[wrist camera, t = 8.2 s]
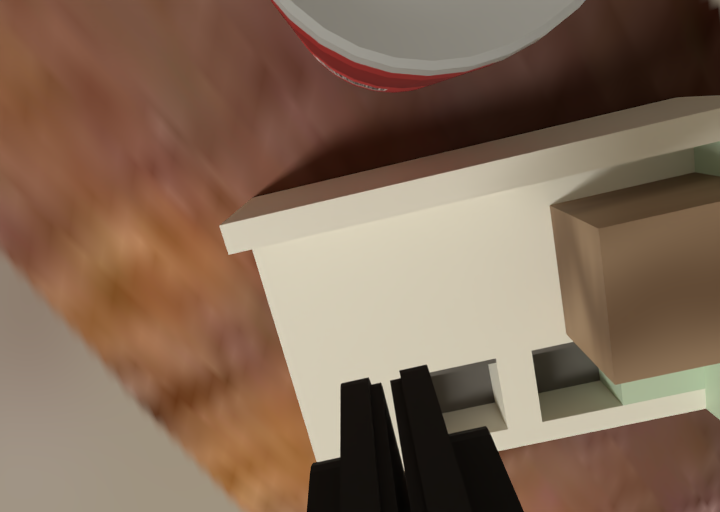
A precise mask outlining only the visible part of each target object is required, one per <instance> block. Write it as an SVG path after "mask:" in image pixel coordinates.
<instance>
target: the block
mask: <svg viewBox="0 0 720 512" xmlns="http://www.w3.org/2000/svg"><path fill="white" fill-rule="evenodd" d="M550 213H551V220H552V228H553V236H554V244H555V251H556V259H557V267H558V274H559V282H560V290H561V297H562V305H563V313H564V320H565V328H566V334H567V335H568V336H569V338H570V339H571V340H572V341H573V342H574V343H575V344H576V345H577V346H578V347H579V348H580V349H581V350H582V351H583V352H584V353H585V354H586V355H587V356H588V357H589V358H590V359H591V360H592V362H593V363H594V364H595V365H596V366H597V367H598V368H599V369H600V370H601V371H602V372H603V373H604V374H605V375H606V376H607V377H608V378H609V379H610V380H611V381H612V382H613V383H614V384H615V385H617V384H622V383H627V382H632V381H637V380H641V379H646V378H651V377H656V376H661V375H665V374H670V373H675V372H680V371H685V370H689V369H694V368H699V367H704V366H708V365H713V364H718V363H720V176H714V175H709V174H703V173H697V172H693V173H689V174H684V175H680V176H676V177H671V178H667V179H663V180H658V181H654V182H649V183H645V184H641V185H636V186H632V187H628V188H623V189H619V190H614V191H610V192H606V193H601V194H597V195H593V196H588V197H584V198H579V199H575V200H571V201H566V202H562V203H558V204H553V205H550Z"/></svg>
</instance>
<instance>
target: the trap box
mask: <svg viewBox="0 0 720 512" xmlns="http://www.w3.org/2000/svg"><path fill="white" fill-rule="evenodd" d="M693 172H697V173H703V174H709V175H714V176H720V95H716V96H695V97H676V98H672V99H668V100H663V101H659V102H655V103H651V104H646V105H642V106H638V107H634V108H629V109H625V110H621V111H617V112H613V113H608V114H604V115H600V116H596V117H591V118H587V119H583V120H579V121H575V122H570V123H566V124H562V125H558V126H553V127H549V128H545V129H541V130H536V131H532V132H528V133H524V134H520V135H515V136H511V137H507V138H503V139H498V140H494V141H490V142H486V143H481V144H477V145H473V146H469V147H465V148H460V149H456V150H452V151H448V152H443V153H439V154H435V155H431V156H427V157H422V158H418V159H414V160H410V161H405V162H401V163H397V164H393V165H388V166H384V167H380V168H376V169H372V170H367V171H363V172H359V173H355V174H350V175H346V176H342V177H338V178H334V179H329V180H325V181H321V182H317V183H312V184H308V185H304V186H300V187H295V188H291V189H287V190H283V191H279V192H274V193H270V194H266V195H262V196H257V197H253V198H252V199H250V200H249V201H248V202H247V203H246V204H244V205H243V206H242V207H241V208H240V209H238V210H237V211H236V212H235V213H234V214H233V215H231V216H230V217H229V218H228V219H227V220H225V221H224V222H223V223H222V224H221V225H219V226H220V229H221V232H222V235H223V238H224V242H225V245H226V248H227V251H228V254H234V253H238V252H242V251H247V250H251V249H252V250H253V254H254V257H255V260H256V263H257V267H258V270H259V273H260V277H261V280H262V283H263V286H264V290H265V293H266V296H267V300H268V303H269V306H270V309H271V313H272V316H273V319H274V323H275V326H276V329H277V332H278V336H279V339H280V342H281V346H282V349H283V352H284V356H285V359H286V362H287V365H288V369H289V372H290V375H291V379H292V382H293V385H294V388H295V392H296V395H297V398H298V402H299V405H300V408H301V411H302V415H303V418H304V421H305V425H306V428H307V431H308V435H309V438H310V441H311V444H312V448H313V451H314V454H315V458H316V461H317V462H321V461H325V460H330V459H335V458H339V457H340V387H341V383H345V382H350V381H354V380H359V379H363V378H368V377H369V379H370V382H371V385H372V384H376V383H382V386H383V390H384V394H385V398H386V402H387V406H388V410H389V413H390V417H391V421H392V425H393V429H394V433H395V437H396V441H397V445H398V449H399V453H400V457H401V461H402V465H403V468H404V464H403V458H402V451H401V445H400V439H399V433H398V427H397V421H396V415H395V409H394V403H393V396H392V390H391V384H390V380H394V379H399V378H401V377H400V372H399V370H404V369H408V368H413V367H417V366H422V365H426V364H427V366H428V369H429V372H430V376H431V379H432V382H433V385H434V389H435V392H436V395H437V398H438V402H439V405H440V408H441V411H442V415H443V418H444V421H445V425H446V428H447V431H448V434H450V433H455V432H460V431H464V430H469V429H474V428H478V427H483V426H486V427H487V428H488V430H489V432H490V434H491V436H492V439H493V441H494V443H495V446H496V448H497V450H498V451H501V450H506V449H511V448H515V447H520V446H525V445H530V444H535V443H540V442H545V441H550V440H555V439H560V438H564V437H569V436H574V435H579V434H584V433H589V432H594V431H599V430H604V429H608V428H613V427H618V426H623V425H628V424H633V423H638V422H643V421H648V420H653V419H657V418H662V417H667V416H672V415H677V414H682V413H687V412H692V411H697V410H701V409H707V410H709V411H710V412H711V413H712V414H713V415H714V416H716V417H717V418H718V419H719V420H720V363H718V364H713V365H708V366H704V367H699V368H694V369H689V370H685V371H680V372H675V373H670V374H665V375H661V376H656V377H651V378H646V379H641V380H637V381H632V382H627V383H622V384H617V385H615V384H614V383H613V382H612V381H611V380H610V379H609V378H608V377H607V376H606V375H605V374H604V373H603V372H602V371H601V370H600V369H599V368H598V367H597V366H596V365H595V364H594V363H593V362H592V360H591V359H590V358H589V357H588V356H587V355H586V354H585V353H584V352H583V351H582V350H581V349H580V348H579V347H578V346H577V345H576V344H575V343H574V342H573V341H572V340H571V339H570V338H569V336H568V335H567V334H566V328H565V320H564V313H563V305H562V297H561V290H560V282H559V274H558V267H557V259H556V251H555V244H554V236H553V228H552V220H551V213H550V205H553V204H558V203H562V202H566V201H571V200H575V199H579V198H584V197H588V196H593V195H597V194H601V193H606V192H610V191H614V190H619V189H623V188H628V187H632V186H636V185H641V184H645V183H649V182H654V181H658V180H663V179H667V178H671V177H676V176H680V175H684V174H689V173H693Z"/></svg>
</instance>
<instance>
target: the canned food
mask: <svg viewBox="0 0 720 512" xmlns="http://www.w3.org/2000/svg"><path fill="white" fill-rule="evenodd" d="M584 1H585V0H271V2H272V3H273V4H274V5H275V7H276V8H277V9H278V11H279V12H280V13H281V15H282V16H283V17H284V18H285V20H286V21H287V22H288V24H289V25H290V26H291V28H292V29H293V30H294V32H295V33H296V34H297V35H298V37H299V38H300V39H301V41H302V42H303V43H304V45H305V46H306V47H307V48H308V49H309V51H310V52H311V53H312V54H313V55H314V57H315V58H316V59H317V60H318V61H319V62H320V63H321V64H322V65H323V66H324V67H326V68H327V69H328V70H329V71H331V72H332V73H333V74H334V75H336V76H337V77H339V78H341V79H343V80H345V81H347V82H349V83H351V84H353V85H355V86H358V87H362V88H365V89H369V90H372V91H381V92H392V93H394V92H403V91H412V90H416V89H419V88H422V87H426V86H429V85H432V84H435V83H438V82H441V81H444V80H447V79H450V78H453V77H456V76H460V75H463V74H466V73H469V72H472V71H475V70H478V69H481V68H484V67H487V66H490V65H492V64H494V63H496V62H498V61H501V60H504V59H505V58H507V57H509V56H511V55H513V54H515V53H517V52H518V51H520V50H522V49H524V48H526V47H528V46H529V45H531V44H533V43H535V42H537V41H538V40H539V39H541V38H542V37H543V36H544V35H546V34H547V33H548V32H549V31H551V30H552V29H553V28H554V27H556V26H557V25H558V24H559V23H561V22H562V21H563V20H564V19H566V18H567V17H568V16H569V15H571V14H572V13H573V12H574V11H575V10H577V9H578V8H579V7H580V6H581V5H582V4H583V2H584Z"/></svg>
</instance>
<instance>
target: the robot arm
mask: <svg viewBox="0 0 720 512" xmlns="http://www.w3.org/2000/svg"><path fill="white" fill-rule="evenodd" d="M399 372H400V377H401V378H399V379H394V380H390V384H391V390H392V396H393V403H394V409H395V415H396V421H397V427H398V433H399V439H400V445H401V451H402V458H403V464H404V468H403V465H402V461H401V457H400V453H399V449H398V445H397V441H396V437H395V433H394V429H393V425H392V421H391V417H390V413H389V410H388V406H387V402H386V398H385V394H384V390H383V386H382V383H376V384H372V385H371V382H370V379H369V377H368V378H363V379H359V380H354V381H350V382H345V383H341V387H340V457H339V458H335V459H330V460H325V461H321V462H316V463H313V464H312V466H311V471H310V481H309V493H308V505H307V512H524V511H523V509H522V507H521V504H520V502H519V500H518V497H517V495H516V492H515V490H514V488H513V485H512V483H511V481H510V478H509V476H508V474H507V471H506V469H505V467H504V464H503V462H502V460H501V457H500V455H499V453H498V450H497V448H496V446H495V443H494V441H493V439H492V436H491V434H490V432H489V430H488V428H487V427H486V426H483V427H478V428H474V429H469V430H464V431H460V432H455V433H450V434H448V431H447V428H446V425H445V421H444V418H443V415H442V411H441V408H440V405H439V402H438V398H437V395H436V392H435V389H434V385H433V382H432V379H431V376H430V372H429V369H428V366H427V364H426V365H422V366H417V367H413V368H408V369H404V370H399ZM404 470H405V472H404Z"/></svg>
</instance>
